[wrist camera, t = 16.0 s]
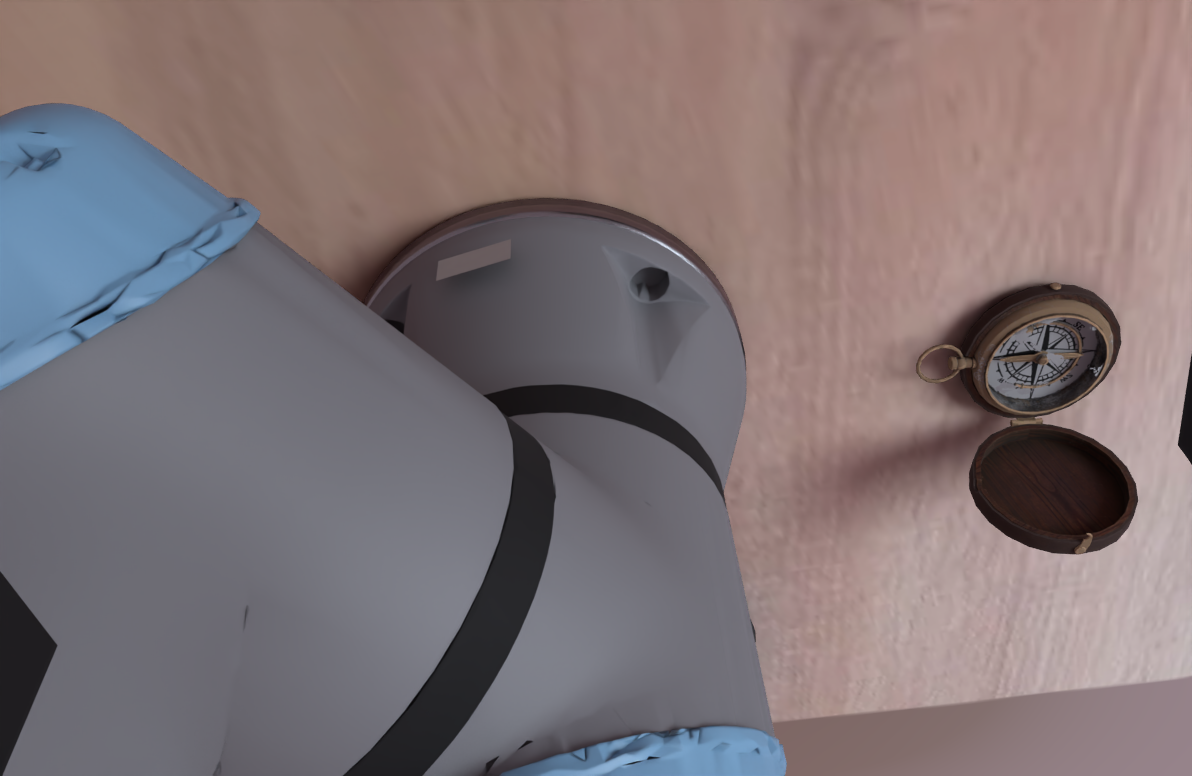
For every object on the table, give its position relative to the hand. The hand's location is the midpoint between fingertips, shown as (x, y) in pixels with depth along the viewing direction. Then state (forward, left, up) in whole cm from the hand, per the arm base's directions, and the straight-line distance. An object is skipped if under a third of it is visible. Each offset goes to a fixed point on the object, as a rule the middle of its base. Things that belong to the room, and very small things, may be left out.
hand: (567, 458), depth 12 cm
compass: (-22, -14, -27) cm, 37 cm away
